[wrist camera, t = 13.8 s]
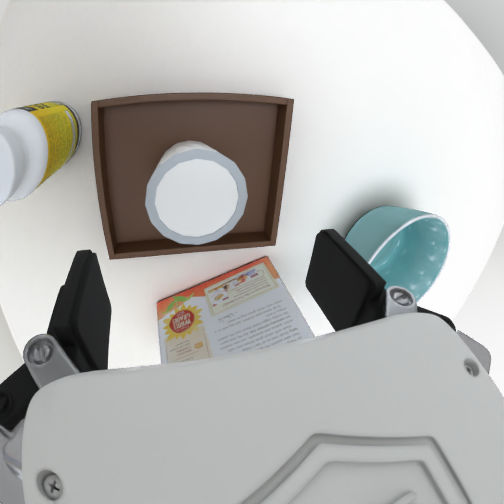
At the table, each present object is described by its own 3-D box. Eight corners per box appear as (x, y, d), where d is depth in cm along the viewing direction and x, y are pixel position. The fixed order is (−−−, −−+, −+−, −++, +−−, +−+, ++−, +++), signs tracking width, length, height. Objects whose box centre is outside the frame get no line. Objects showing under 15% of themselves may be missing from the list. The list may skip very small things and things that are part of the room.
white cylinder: (153, 210, 24) (151, 250, 18) (148, 136, 20) (140, 153, 15) (226, 204, 26) (245, 241, 20) (228, 132, 22) (251, 147, 17)
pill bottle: (73, 89, 16) (8, 93, 7) (91, 151, 20) (41, 197, 11) (18, 120, 15) (-56, 150, 6) (38, 177, 19) (-22, 235, 10)
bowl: (321, 301, 38) (349, 343, 32) (315, 203, 29) (358, 241, 23) (402, 264, 40) (434, 296, 34) (414, 175, 31) (460, 201, 24)
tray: (113, 245, 25) (109, 259, 23) (98, 100, 18) (90, 101, 16) (267, 233, 30) (275, 245, 28) (282, 97, 22) (294, 99, 20)
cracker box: (177, 330, 34) (210, 491, 17) (155, 300, 30) (177, 486, 13) (279, 289, 35) (360, 439, 18) (268, 253, 31) (366, 423, 14)
